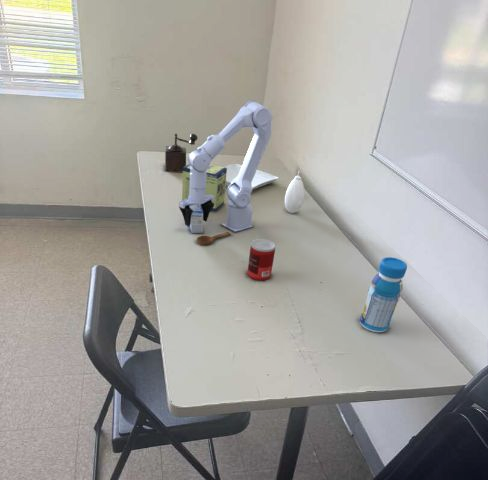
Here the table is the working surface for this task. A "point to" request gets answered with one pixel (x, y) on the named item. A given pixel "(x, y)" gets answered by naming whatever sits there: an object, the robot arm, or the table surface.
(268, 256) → the canned food
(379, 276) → the beverage bottle
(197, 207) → the medicine box
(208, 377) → the table surface
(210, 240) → the wooden spoon
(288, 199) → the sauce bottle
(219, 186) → the protein box
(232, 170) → the square plate
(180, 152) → the manual coffee grinder
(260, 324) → the table surface
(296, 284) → the table surface
